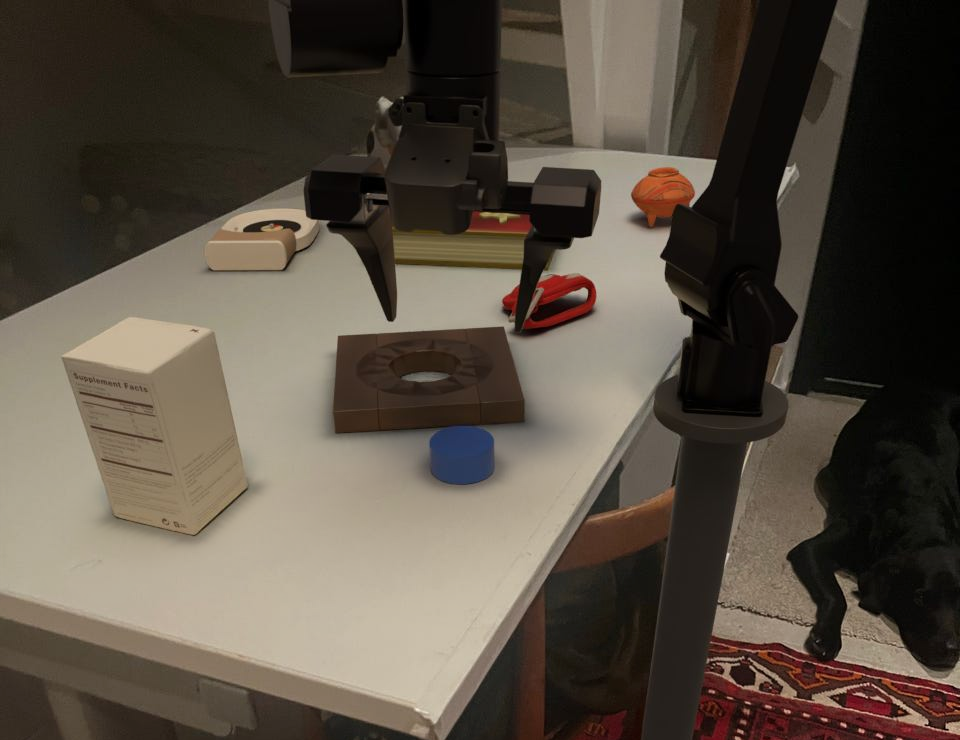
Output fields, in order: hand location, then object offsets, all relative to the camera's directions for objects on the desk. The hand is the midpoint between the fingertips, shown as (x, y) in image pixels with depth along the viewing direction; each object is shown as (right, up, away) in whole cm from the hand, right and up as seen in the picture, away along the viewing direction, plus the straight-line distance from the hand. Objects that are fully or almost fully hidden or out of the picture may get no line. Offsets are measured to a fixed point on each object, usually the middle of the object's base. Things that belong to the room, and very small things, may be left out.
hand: (454, 325), depth 66 cm
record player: (-25, +27, +51) cm, 63 cm away
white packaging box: (-21, -12, +4) cm, 24 cm away
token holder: (-3, +1, +19) cm, 19 cm away
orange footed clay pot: (+11, +25, +52) cm, 59 cm away
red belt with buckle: (+8, +11, +31) cm, 34 cm away
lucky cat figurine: (-7, +47, +73) cm, 87 cm away
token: (0, -9, +7) cm, 11 cm away
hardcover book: (0, +25, +48) cm, 54 cm away
